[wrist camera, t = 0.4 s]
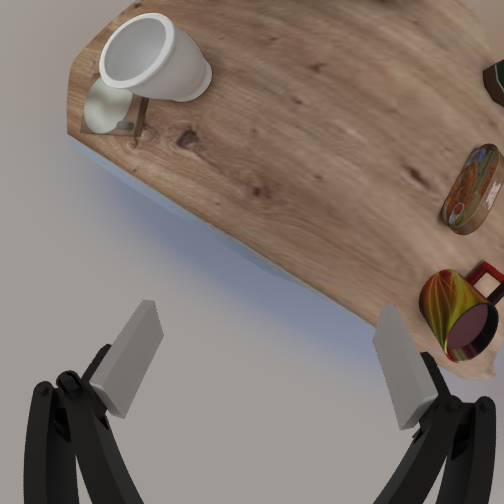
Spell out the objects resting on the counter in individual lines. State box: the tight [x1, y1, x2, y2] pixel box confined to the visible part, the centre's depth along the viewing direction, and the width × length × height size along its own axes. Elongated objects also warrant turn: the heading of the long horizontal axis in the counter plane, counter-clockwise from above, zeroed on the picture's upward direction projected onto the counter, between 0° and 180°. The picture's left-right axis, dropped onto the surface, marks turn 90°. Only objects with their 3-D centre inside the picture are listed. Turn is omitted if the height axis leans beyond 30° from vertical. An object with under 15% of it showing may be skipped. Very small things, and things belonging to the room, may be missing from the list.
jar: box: [100, 13, 212, 102], centre depth 28 cm, size 11×10×15 cm
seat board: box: [80, 73, 149, 137], centre depth 36 cm, size 12×14×5 cm
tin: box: [442, 144, 504, 235], centre depth 27 cm, size 15×3×8 cm, turn 150°
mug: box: [419, 261, 504, 363], centre depth 30 cm, size 10×14×12 cm
